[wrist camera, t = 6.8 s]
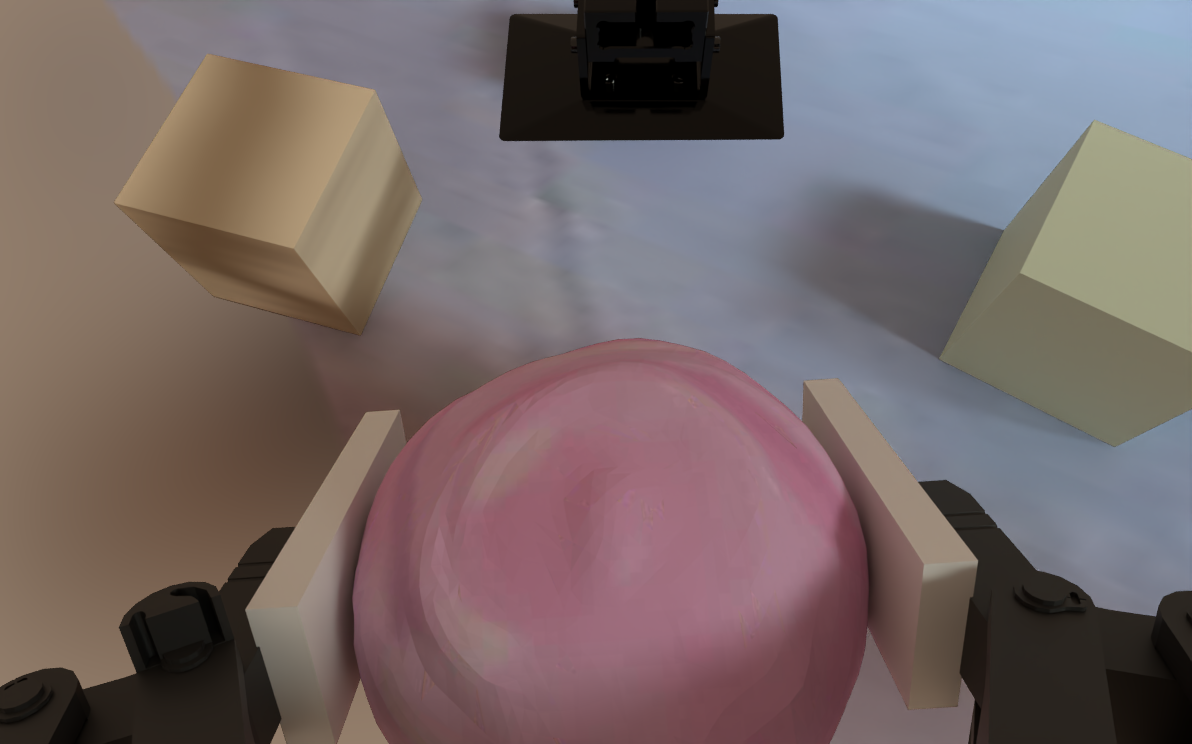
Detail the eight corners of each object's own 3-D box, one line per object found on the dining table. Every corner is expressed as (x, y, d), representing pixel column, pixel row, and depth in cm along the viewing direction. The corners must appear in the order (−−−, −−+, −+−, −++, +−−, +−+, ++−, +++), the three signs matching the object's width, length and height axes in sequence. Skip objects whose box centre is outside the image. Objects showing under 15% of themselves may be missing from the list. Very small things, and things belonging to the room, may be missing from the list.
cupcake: (708, 405, 22) (765, 193, 12) (854, 722, 18) (1077, 755, 9) (404, 518, 21) (223, 381, 12) (502, 871, 18) (360, 1073, 8)
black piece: (457, 171, 26) (422, 68, 22) (478, 9, 29) (449, -111, 24) (832, 170, 25) (872, 64, 21) (816, 4, 28) (848, -120, 24)
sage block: (1169, 306, 22) (1310, 207, 18) (1113, 448, 21) (1251, 379, 16) (1002, 231, 24) (1093, 119, 19) (937, 360, 22) (1019, 272, 17)
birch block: (422, 201, 25) (375, 89, 20) (361, 336, 23) (293, 248, 18) (284, 168, 26) (207, 53, 21) (214, 297, 24) (114, 202, 19)
